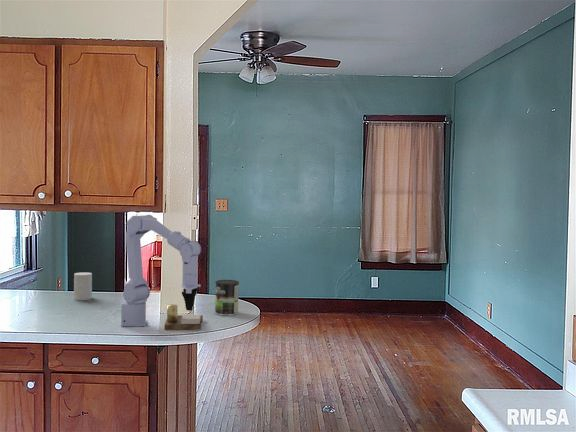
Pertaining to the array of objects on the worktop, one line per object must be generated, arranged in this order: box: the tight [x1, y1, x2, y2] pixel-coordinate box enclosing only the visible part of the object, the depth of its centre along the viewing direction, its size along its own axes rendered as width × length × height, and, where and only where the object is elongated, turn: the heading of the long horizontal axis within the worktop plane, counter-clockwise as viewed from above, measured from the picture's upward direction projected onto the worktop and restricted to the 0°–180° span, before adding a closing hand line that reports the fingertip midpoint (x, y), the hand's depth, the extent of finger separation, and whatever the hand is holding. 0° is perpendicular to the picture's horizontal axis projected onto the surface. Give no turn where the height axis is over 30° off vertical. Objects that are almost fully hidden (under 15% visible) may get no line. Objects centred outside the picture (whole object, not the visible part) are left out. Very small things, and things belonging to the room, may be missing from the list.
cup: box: [73, 272, 93, 301], centre depth 295 cm, size 8×8×12 cm
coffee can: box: [214, 279, 240, 317], centre depth 270 cm, size 10×10×14 cm
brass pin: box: [166, 304, 178, 323], centre depth 244 cm, size 4×4×6 cm
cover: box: [181, 314, 201, 324], centre depth 244 cm, size 7×7×2 cm
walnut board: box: [163, 314, 203, 331], centre depth 248 cm, size 14×16×2 cm
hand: (189, 308), depth 234 cm, fingers open, 5 cm apart
